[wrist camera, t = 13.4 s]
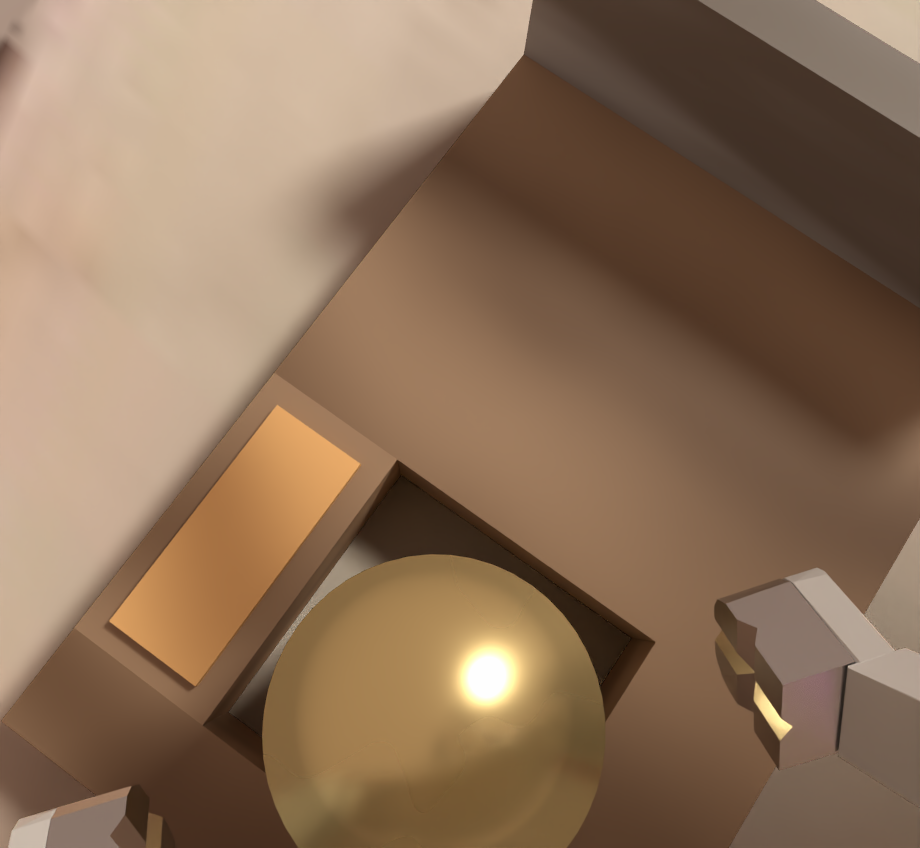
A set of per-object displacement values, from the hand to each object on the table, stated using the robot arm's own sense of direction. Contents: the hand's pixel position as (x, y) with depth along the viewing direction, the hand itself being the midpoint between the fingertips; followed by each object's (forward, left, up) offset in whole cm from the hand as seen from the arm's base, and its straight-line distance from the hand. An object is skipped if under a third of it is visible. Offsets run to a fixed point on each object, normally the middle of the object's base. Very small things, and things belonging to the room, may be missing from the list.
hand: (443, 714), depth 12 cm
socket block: (-4, 0, -6) cm, 7 cm away
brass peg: (0, 0, -6) cm, 6 cm away
